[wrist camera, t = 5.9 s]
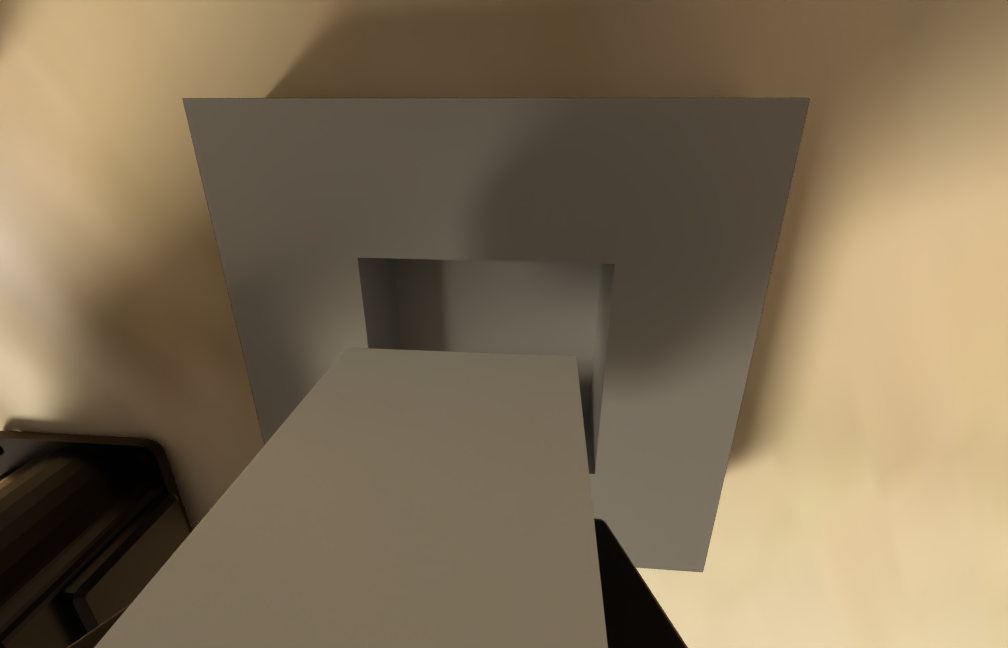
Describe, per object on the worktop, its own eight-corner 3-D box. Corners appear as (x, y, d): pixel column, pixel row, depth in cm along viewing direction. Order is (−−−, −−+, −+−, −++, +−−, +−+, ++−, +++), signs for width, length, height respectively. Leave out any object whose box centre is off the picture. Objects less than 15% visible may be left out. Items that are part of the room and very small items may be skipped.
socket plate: (329, 477, 18) (288, 546, 15) (262, 100, 13) (182, 98, 10) (677, 498, 17) (702, 576, 14) (749, 99, 12) (810, 98, 9)
